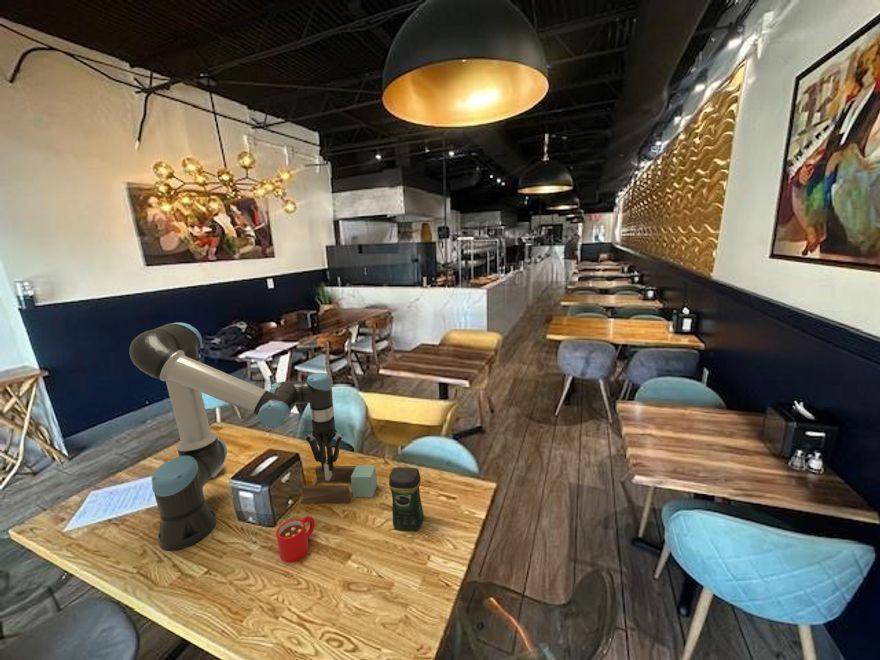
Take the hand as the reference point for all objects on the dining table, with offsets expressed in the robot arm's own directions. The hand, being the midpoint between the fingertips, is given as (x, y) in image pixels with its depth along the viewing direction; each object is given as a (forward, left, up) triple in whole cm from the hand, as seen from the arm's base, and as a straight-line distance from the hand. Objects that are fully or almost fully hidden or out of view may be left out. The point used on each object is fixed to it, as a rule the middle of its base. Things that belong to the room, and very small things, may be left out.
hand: (328, 477), depth 132 cm
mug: (-25, 0, -6) cm, 26 cm away
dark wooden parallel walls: (0, -1, -6) cm, 6 cm away
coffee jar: (-15, -31, -6) cm, 35 cm away
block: (0, -13, -6) cm, 14 cm away
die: (+10, +52, -6) cm, 53 cm away
